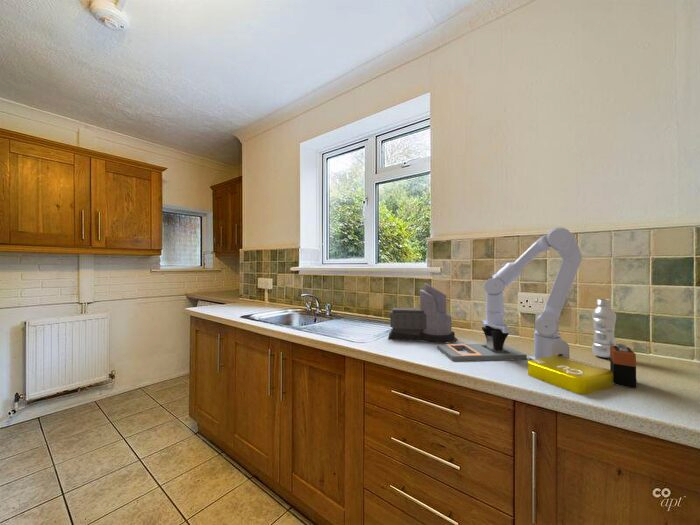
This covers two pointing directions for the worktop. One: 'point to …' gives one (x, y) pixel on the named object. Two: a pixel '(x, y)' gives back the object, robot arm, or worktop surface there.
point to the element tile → (571, 374)
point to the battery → (623, 365)
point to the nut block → (492, 345)
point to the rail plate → (478, 352)
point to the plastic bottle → (603, 328)
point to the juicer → (423, 319)
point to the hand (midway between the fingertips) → (494, 348)
